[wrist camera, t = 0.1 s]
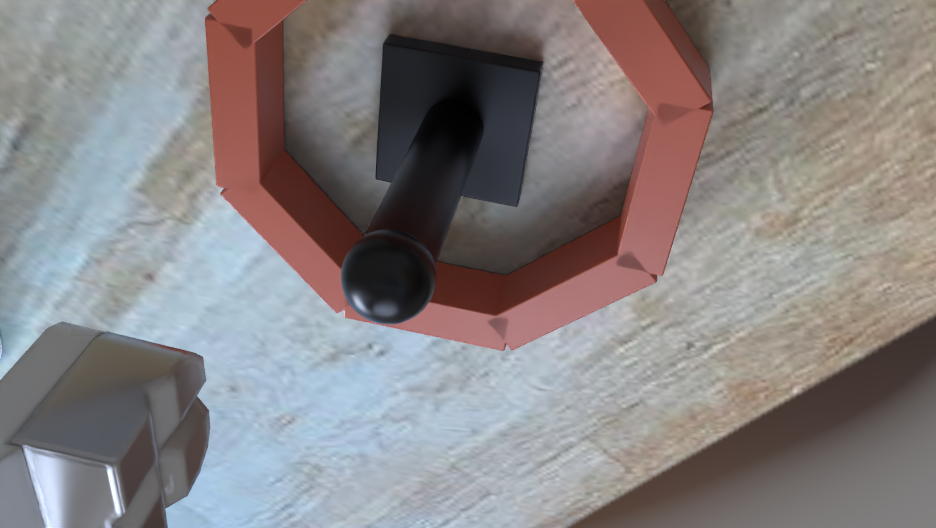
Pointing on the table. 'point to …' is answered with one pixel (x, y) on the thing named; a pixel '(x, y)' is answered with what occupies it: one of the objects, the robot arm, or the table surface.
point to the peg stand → (437, 164)
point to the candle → (0, 347)
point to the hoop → (457, 288)
